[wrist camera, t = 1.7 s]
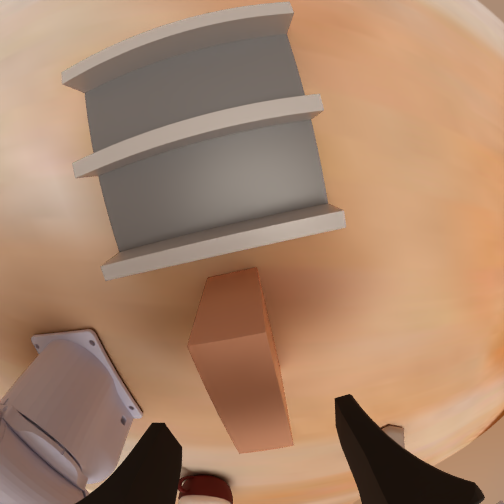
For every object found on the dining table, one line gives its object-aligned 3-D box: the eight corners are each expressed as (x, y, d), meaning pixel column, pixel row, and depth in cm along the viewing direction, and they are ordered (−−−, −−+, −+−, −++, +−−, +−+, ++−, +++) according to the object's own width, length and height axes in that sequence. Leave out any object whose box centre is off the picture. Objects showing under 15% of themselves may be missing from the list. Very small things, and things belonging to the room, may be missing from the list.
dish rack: (325, 214, 16) (346, 227, 12) (129, 259, 16) (105, 281, 13) (280, 30, 12) (289, 1, 9) (91, 85, 13) (61, 72, 9)
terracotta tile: (280, 368, 19) (293, 445, 12) (239, 375, 19) (239, 453, 12) (256, 266, 16) (265, 332, 10) (207, 277, 17) (187, 345, 10)
